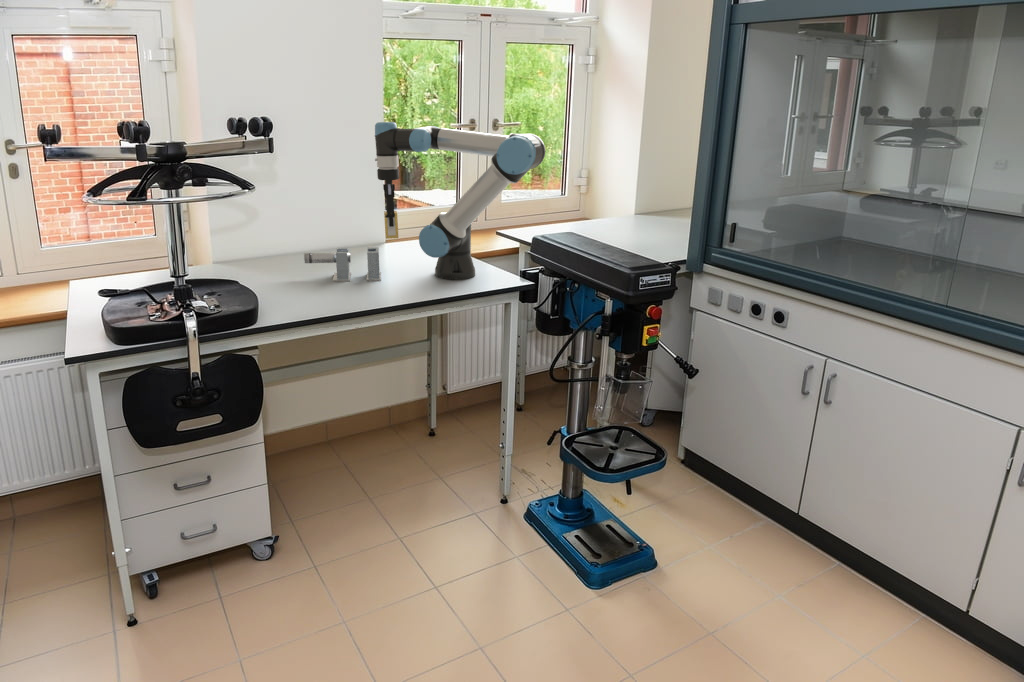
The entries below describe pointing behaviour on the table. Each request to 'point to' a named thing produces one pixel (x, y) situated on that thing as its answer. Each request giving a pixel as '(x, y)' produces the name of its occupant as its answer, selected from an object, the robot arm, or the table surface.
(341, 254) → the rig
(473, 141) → the robot arm
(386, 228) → the spacer
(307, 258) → the shaft
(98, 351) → the table surface
